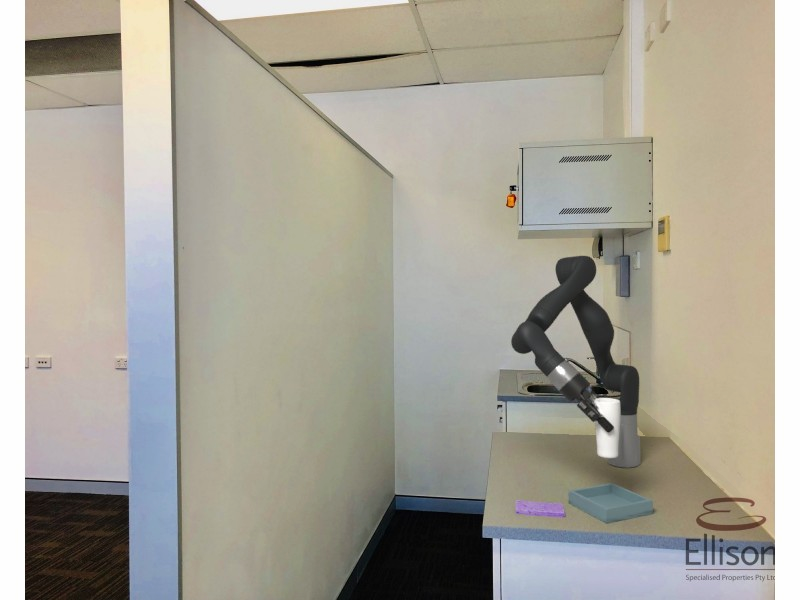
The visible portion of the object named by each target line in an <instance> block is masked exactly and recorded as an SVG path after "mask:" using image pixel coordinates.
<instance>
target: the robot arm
mask: <svg viewBox="0 0 800 600" xmlns="http://www.w3.org/2000/svg"><path fill="white" fill-rule="evenodd" d="M555 275H556V280H557V281H558V283H559V286H557V287H556V288H554V289H553V290H551V291H549V292H548V293H547V294H545V295H544V296H543V297H542V298H540V299H539V301H537V303H536V304H535V305H534V307H533V308H532V310H531V311H530V313H529V314H528V316H527V317H526V319H525V321H523V322H522V323H520V324H519V325H518V327H516V330H515V331H514V333H513V335H512V337H511V340H510V342H511V344H510V345H511V347H512V349H513V351H515V352H516V353H519V354H522V355H525V354H529V353H533V355H534V364H535V366H536V367H537V368H538V369H539V370H540V371H541V372H542V374H544V376H546V377H547V379H548V380H549V382H550V383H551V384H552V385H553V386H554V387H555V388H556V389H557V391H558V392H559V393H560V394H561V395H562V396H563V397H564V398H565V399H567V401H568V402H570V403H572V402H574V401H575V400H576V401H577V402H578V403H577V404H576V406H577V408H578V409H579V410H580V411H581V412H582V413H584V414H585V416H586V417H588V419H589V420H590V421H591V422H593V423H595V422H598V423H599V424H600V425H601V426H602V427H603V428H604V429H605V430H606V432H608V433H609V432H611V431H612V430H613V429H614V426H613V425H612V424H611V423H610V422H609V421H608V420H607V419H606V418H605V417H604V416H603V414H602V413H601V412H600V411H599V407H598V406H597V404H596V403H595V399H597V398H600V397H599V395H597V393H596V392H595V391H591V392H590V391H589V390H587V388H589V387H590V385H591V382H589V381H588V380H587V379H586V377H584V376H583V374H581V373H580V371H578V369H576V367H575V366H573V365H572V364H571V363H570V362H568V361H567V360H566V359H565V358H564V356H562V355H561V353H559V352H558V351H557V349H555V347H554V345H553V343H552V342H551V340H550V339H549V337H548V335H547V334H546V331H547V330H548V329H549V328H550V327H551V326H552V325H553V324H554V322H555V321H556V320H557V318H558V316H559V315H560V314H561V313H562V312H563V310H564V309H565V308H566V307H567V306H568V305H569V304H570V305H571V307H572V309H573V311H574V313H575V315H576V317H577V321H578V323H579V325H580V327H581V330H582V332H583V333H582V334H583V335H584V337H585V339H586V342H587V343H588V345H589V348H590V351H591V353H592V356H593V358H594V361H595V366H596V368H597V371H598V375H599V378H600V380H601V383H602V386H603V387H604V388H605V389H606V390H607V391H611V392H614V393H615V392H617V393H620V394H619V395H620V396H619V399H618V400H619V401H620V407H621V419H620V432H619V445H618V456H617V457H616V458H608V463H609V464H610V466H614V467H618V468H629V469H630V468H636V467H637V466H639V465H641V436H640V435H639V434H638V432H639V431H638V406H639V401H640V375H639V371H638V369H637V368H636V367H635V366H632V365H627V364H618V363H615V360H614V359H613V356H612V354H611V347H612V345H613V342H614V338H615V329H614V325H613V322H612V321H611V318H610V316H609V315H608V312H607V311H606V310H605V308H603V307H602V306H601V305H600V304H599V302H597V301H595V300H594V299H593V298H592V297H591V296H590V295H589V294H588V293H587V292H586V290H585V289H586V288H587V287H588V286H589V285H590V284H592V282H593V281H594V279H595V278H596V275H597V266H596V262H595V260H594V259H593V258H592V257H590V256H588V255H575V256H566V257H562V258H559V260H557V262H556V264H555ZM599 402H600V401H599ZM594 421H595V422H594Z"/></svg>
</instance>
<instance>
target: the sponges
mask: <svg viewBox="0 0 800 600" xmlns="http://www.w3.org/2000/svg"><path fill="white" fill-rule="evenodd" d="M563 505H564V504H563V503H560V502H555V503H554V502H543V501H531V500H530V501H528V500H520V499H516V500H515V514H516V515H517V514H524V515H523V516H532V515H535V516H534V517H548V518H549V517H551V518H565V517H566V514H565V513H566V512H565V510H564V506H563Z"/></svg>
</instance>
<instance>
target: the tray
mask: <svg viewBox="0 0 800 600" xmlns="http://www.w3.org/2000/svg"><path fill="white" fill-rule="evenodd" d="M567 495H568V496H567V497H568V504H570V505H571V506H572V507H575V508H577V509H578V510H581V511H583V512H584V513H586V514H588V515H590V516H591V517H593V518H596V519H597V520H599V521H601V522H603V523H605V524H612V523H616V522H620V521H625V520H629V519H630V520H631V519H634V518H640V517H645V516H648V515H649V516H651V515H653V514H654V504H653V503H654V500H652V499H650V498H648V497H645V496H643V495H641V494H638V493H636V492H634V491H632V490H629V489H627V488H625V487H623V486H621V485H618V484H615V483H613V482H610V483H603V484H597V485H593V486H592V485H591V486H587V487H586V486H585V487H581V488H575V489H570V490H568V493H567Z"/></svg>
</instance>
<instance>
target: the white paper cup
mask: <svg viewBox="0 0 800 600" xmlns="http://www.w3.org/2000/svg"><path fill="white" fill-rule="evenodd" d="M599 401H600V402H599ZM595 403H596V404H597V406H598V407H599V411H600V412H601V413H602V414H603V416H604V417H605V418H606V419H607V420H608V421H609V422H610V423H611V424H612V425H613V426H614V429H613V430H612V431H611V432H609V433H608V432H606V430H605V429H604V428H603V427H602V426H601V425H600V424H599V423H598V422H595V421H594V422H593V423H594V427H595V428H594V430H595V438H596V439H595V440H596V454H597V455H598V457H601V458H604V459H609V458H616V457H617V456H618V445H619V432H620V419H621V407H620V401H619V399H618V398H610V397H609V398H608V397H599V398H597V399H595Z"/></svg>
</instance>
